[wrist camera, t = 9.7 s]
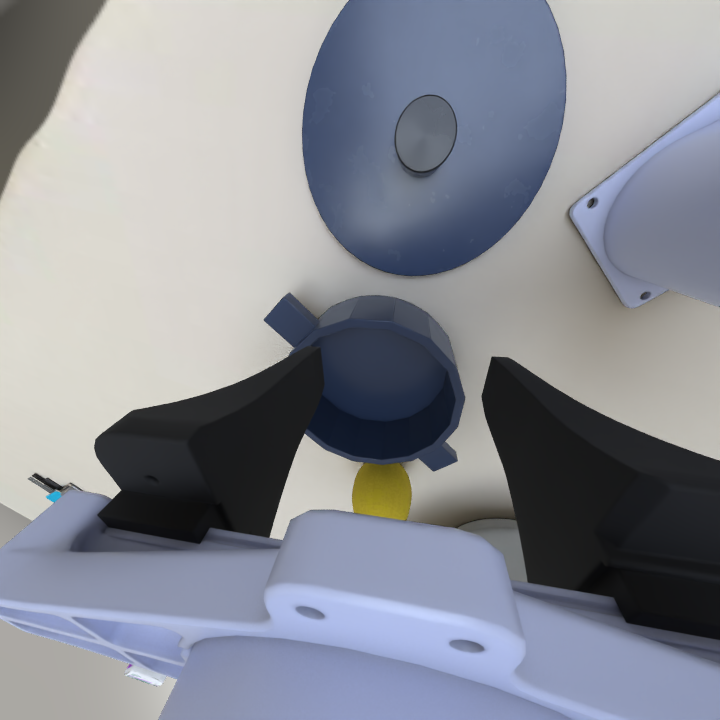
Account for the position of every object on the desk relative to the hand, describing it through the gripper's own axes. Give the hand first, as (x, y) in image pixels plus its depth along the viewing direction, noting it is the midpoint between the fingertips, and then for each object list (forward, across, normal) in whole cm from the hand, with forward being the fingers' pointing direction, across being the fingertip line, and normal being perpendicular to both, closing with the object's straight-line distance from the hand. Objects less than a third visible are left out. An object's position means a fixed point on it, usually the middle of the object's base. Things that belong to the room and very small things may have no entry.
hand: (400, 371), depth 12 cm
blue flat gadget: (+10, +54, +40) cm, 68 cm away
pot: (+10, +2, +6) cm, 12 cm away
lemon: (+10, +1, +17) cm, 20 cm away
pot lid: (+9, 0, -9) cm, 13 cm away
